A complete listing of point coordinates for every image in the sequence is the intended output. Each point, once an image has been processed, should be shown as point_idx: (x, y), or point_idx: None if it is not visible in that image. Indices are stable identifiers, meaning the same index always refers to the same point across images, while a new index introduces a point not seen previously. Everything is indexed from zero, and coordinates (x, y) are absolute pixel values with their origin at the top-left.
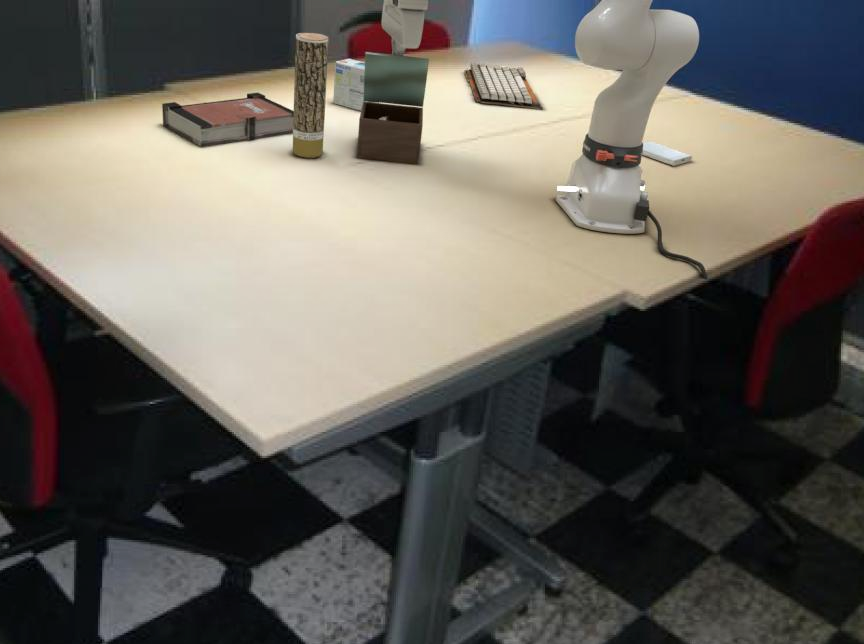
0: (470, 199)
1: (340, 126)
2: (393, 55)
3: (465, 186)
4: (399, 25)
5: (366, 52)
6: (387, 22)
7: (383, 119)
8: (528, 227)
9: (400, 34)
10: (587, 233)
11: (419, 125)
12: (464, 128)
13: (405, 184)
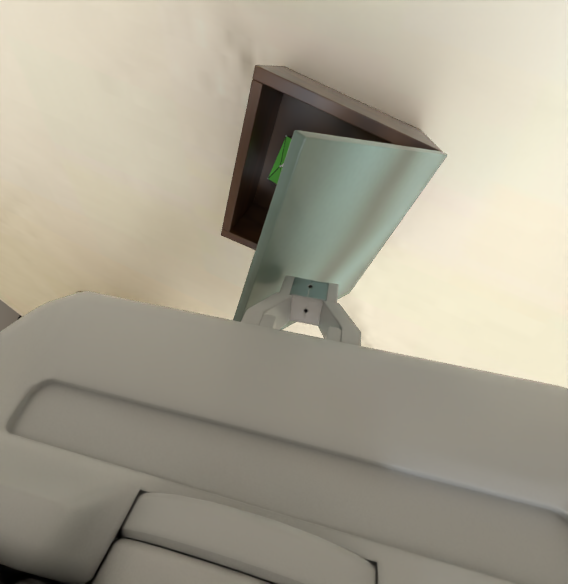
0: (112, 218)
1: (555, 101)
2: (254, 271)
3: (160, 234)
4: (99, 381)
5: (297, 142)
6: (429, 413)
7: None
8: (51, 244)
9: (95, 335)
10: (65, 290)
11: (222, 229)
12: (415, 347)
13: (142, 134)
